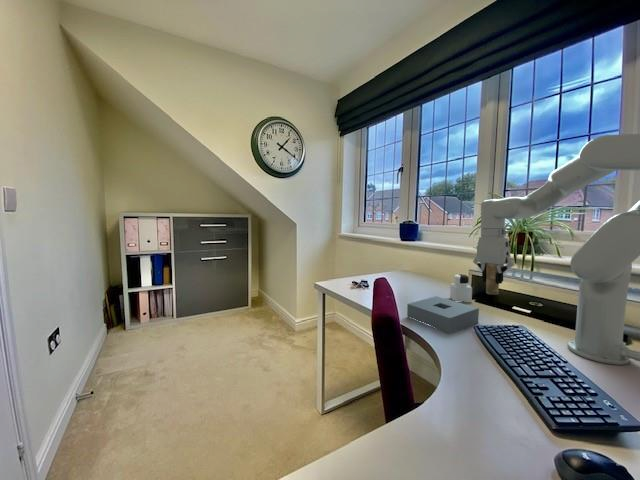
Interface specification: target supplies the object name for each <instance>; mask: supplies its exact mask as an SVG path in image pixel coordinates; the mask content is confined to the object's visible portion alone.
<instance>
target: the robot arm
mask: <svg viewBox="0 0 640 480" xmlns="http://www.w3.org/2000/svg"><path fill="white" fill-rule="evenodd" d="M578 154H579V155H578V156H576V157H575V158H572V159H571V160H570V161H568V162H566V163H565V164H563V165H561V166H560V167H558V168H556V169H554V170H552V172H551V173H550V174H549V175H548V179H547V180H546V181H545V183H544V184H543V185H542V186H540V187H539V188H537V189H536V190H534V191H532V192H531V193H529V194H527V195H525V196H510V197H505V198H501V199H498V198H495V199H486V200H482V202H481V203H480V236H479V237H478V241H477V246H476V256H475V258H474V259H473V260H472V262H473V264H475V265H476V266H477V267H478V269H480V271H481V279H482V282H485V283H486V264H487V263H492V264H496V266H497V271H498V273H496V284H499V285H501V284H503V282H504V273H506V271H508V270H509V269H510V268H512V267H514V266H515V263H514V262H513V260H512V259H511V247H510V242H509V238H508V236H506V235H508V234H510V230H507V229H506V219H507V220H520V219H521V220H522V219H529V218H531V217H534V216H536V215H538V214H540V213H542V212H544V211H546V210H548V209H550V208H552V207H553V206H555V205H557V204H558V203H560V202H561V201H563V200H565V199H567V198H568V197H569V196H570V195H572V194H574V193H575V192H577V191H579V190H582V189H583V188H585V187H587V186H589V185H592V184H593V183H594V182H596V181H598V180H601V179H602V178H605V177H607V176H609V175H610V174H612V173H614V172H616V171H634V172H635V171H636V172H640V133H626V134H625V133H624V134H606V135H605V134H604V135H601V136H597V137H594V138H592V139H591V140H589V141H588V142H586V143H585V144H584V145H583V147H582V148H581V149H580V151H579V153H578ZM639 257H640V200H638V201H637V203H635V204H634V205H633V206H632V207H631V208H629V210H628V211H625V212H621V213H617V214H616V215H612V217H610V218H609V219H607V220H606V221H605V222H604V223H602V224H601V226H600V227H599V228H597V230H595V232H594V233H593V234H592V235H591V236H590V237H589V238H588V239H587V240H586V241H585V242H584V243H583V244H581V246H579V248H578V249H577V250H576V251H575V253H574V254H573V255H572V257H571V260H570V269H571V271H572V273H573V274H574V275H575V277H577V278H578V279H580V281H579V286H578V295H577V296H578V297H577V308H576V321H575V334H574V335H575V336H574V339H572V340H569V341H568V342H567V345H566V346H567V349H569V350H570V351H571V352H572V353H574V354H575V355H578V356H580V357H582V358H585V359H588V360H591V361H595V362H598V363H603V364H608V365H609V364H610V365H618V366H619V365H626V364H629V363H630V359H632V360H634V361H637V362H640V351H638V350H635V349H629V347H627V343H626V342H625V341H624V329H625V320H626V319H625V317H626V310H627V309H626V308H627V301H628V293H629V291H628V290H629V286H630V279H631V275H632V269H633V268H632V267H633V262H634V261H635V260H636V259H638V258H639Z"/></svg>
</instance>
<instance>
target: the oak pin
mask: <svg viewBox="0 0 640 480" xmlns="http://www.w3.org/2000/svg"><path fill="white" fill-rule="evenodd" d="M496 273H498V271H497V266H496V264H492V263H487V264H486V282H485V290H486V291H485V293H486V294H487V295H491V296H493V295H495V296H497V295H499V294H500V293H499V292H500V291H499V290H500V287H499V286H500V284H496Z"/></svg>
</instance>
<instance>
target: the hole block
mask: <svg viewBox="0 0 640 480" xmlns="http://www.w3.org/2000/svg"><path fill="white" fill-rule="evenodd" d="M406 305H407V307H406V308H407V309H406V310H407V311H406V312H407V314H406V315H407V316H408V317H411V318H414V319H416V320H418V321H421V322H424V323H426V324H429V325H431V326H433V327H435V328H434V329H436V328H437V329H436V330H438V329H440V330H439V331H441V330H442V331H441V332H443V331H444V333H446V332H447V333H446V334H449V335H450V334H453V333H455V332H458V331H461V330H463V329H465V328H468V327H469V326H470V327H471V326H472V325H475V324H478V323H479V314H480V313H479V311H480V308H479V307H476V306H472V305H470V304H469V305H468V304H466V303H463V302H455V301H454V300H452V299H447V298H443V297H441V296H437V295H435V296H433V297H432V296H431V297H428V298H425V299H421V300H417V301H414V302H413V301H412V302H409V303H407V304H406ZM407 316H406V317H407ZM408 317H407V318H408ZM418 321H417V322H418ZM477 322H478V323H477ZM431 326H430V327H431ZM467 326H468V327H467ZM433 327H432V328H433ZM462 328H463V329H462ZM457 330H458V331H457ZM452 332H453V333H452Z"/></svg>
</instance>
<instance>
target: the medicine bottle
mask: <svg viewBox="0 0 640 480" xmlns="http://www.w3.org/2000/svg"><path fill="white" fill-rule="evenodd" d="M469 278H470V277H469V276H468V275H466V274H463V273H462V274H460V273H459V274H458V273H457V274H455V275H453V283H450V292H449V293H450V294H449V298H450V297H451V298H452V299H451V298H450V299H451V300H453V299H454V300H455V301H464V302H463V303H472V300H473V299H472V297H473V286H471V285H469V284H470V283H469V281H470V279H469ZM454 300H453V301H454ZM467 301H468V302H467Z"/></svg>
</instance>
